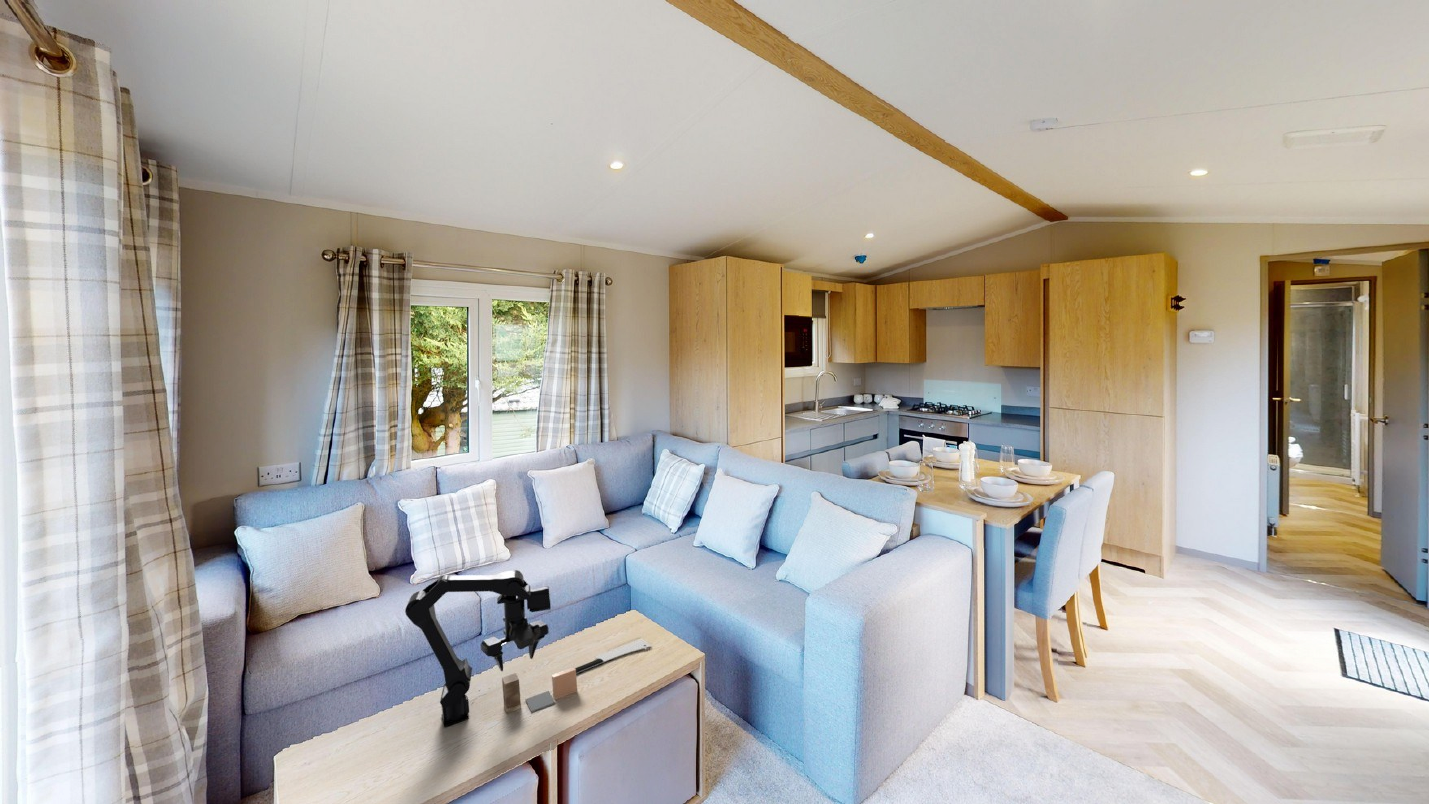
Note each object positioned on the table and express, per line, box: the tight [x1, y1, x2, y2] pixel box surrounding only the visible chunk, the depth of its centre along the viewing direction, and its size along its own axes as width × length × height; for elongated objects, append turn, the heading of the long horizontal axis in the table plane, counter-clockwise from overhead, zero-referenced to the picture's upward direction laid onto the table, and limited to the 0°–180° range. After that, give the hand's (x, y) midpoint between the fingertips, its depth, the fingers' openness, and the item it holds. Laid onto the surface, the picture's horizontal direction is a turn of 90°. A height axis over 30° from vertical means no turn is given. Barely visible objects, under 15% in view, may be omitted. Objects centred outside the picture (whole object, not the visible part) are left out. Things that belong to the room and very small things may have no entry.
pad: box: [525, 690, 556, 713], centre depth 163 cm, size 7×7×1 cm
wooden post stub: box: [501, 673, 522, 714], centre depth 161 cm, size 4×4×9 cm
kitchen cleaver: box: [574, 638, 651, 675], centre depth 186 cm, size 31×2×10 cm
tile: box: [551, 667, 578, 700], centre depth 167 cm, size 7×2×7 cm, turn 123°
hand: (516, 664), depth 162 cm, fingers open, 9 cm apart
